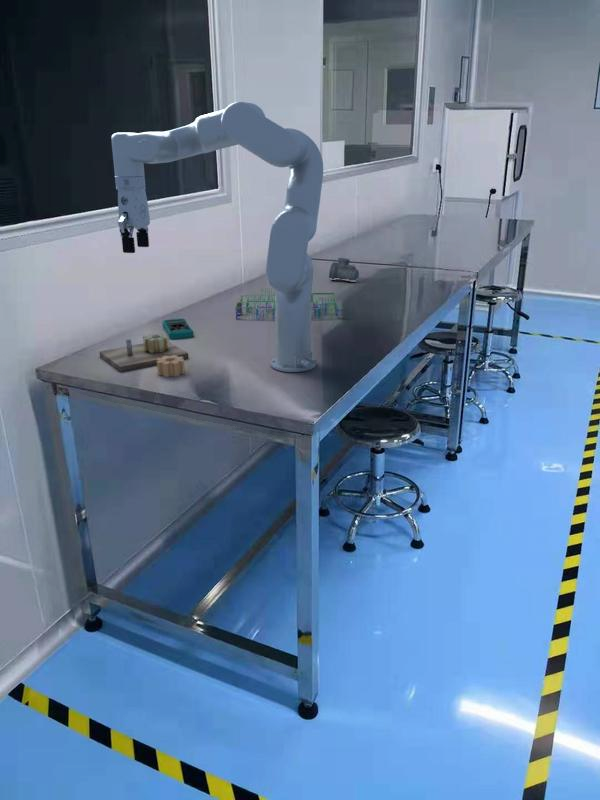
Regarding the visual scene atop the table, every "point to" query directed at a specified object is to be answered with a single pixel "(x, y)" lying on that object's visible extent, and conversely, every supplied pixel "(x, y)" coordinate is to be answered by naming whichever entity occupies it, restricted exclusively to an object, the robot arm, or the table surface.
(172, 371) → the tan gear
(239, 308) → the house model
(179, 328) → the digital multimeter
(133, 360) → the gear board
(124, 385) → the table surface
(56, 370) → the table surface
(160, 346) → the green gear
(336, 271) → the pipe fitting
